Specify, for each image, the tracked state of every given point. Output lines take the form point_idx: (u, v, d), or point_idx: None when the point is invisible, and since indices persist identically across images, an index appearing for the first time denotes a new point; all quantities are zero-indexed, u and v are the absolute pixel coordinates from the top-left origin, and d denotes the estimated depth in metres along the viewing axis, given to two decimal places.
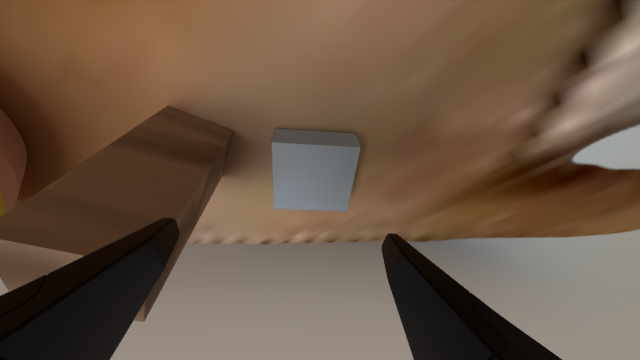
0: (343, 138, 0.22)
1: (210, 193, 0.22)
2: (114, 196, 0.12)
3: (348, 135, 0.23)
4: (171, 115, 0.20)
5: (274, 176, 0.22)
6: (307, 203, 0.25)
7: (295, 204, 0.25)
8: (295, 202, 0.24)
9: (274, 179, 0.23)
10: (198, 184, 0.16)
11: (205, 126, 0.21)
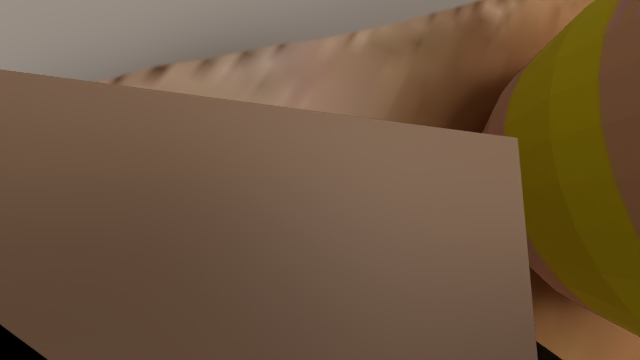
0: None
1: None
2: None
3: None
4: None
5: None
6: None
7: None
8: None
9: None
10: None
11: None
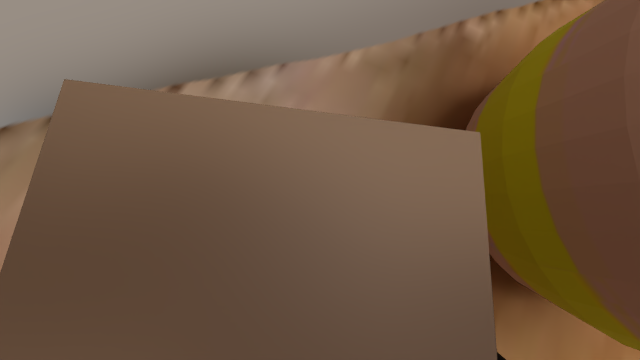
0: None
1: None
2: None
3: None
4: None
5: None
6: None
7: None
8: None
9: None
10: None
11: None
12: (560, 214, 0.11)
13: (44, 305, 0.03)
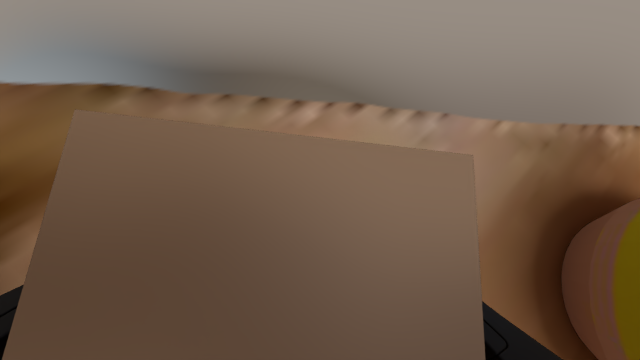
0: None
1: None
2: None
3: None
4: None
5: None
6: None
7: None
8: None
9: None
10: None
11: None
12: None
13: (62, 328, 0.03)
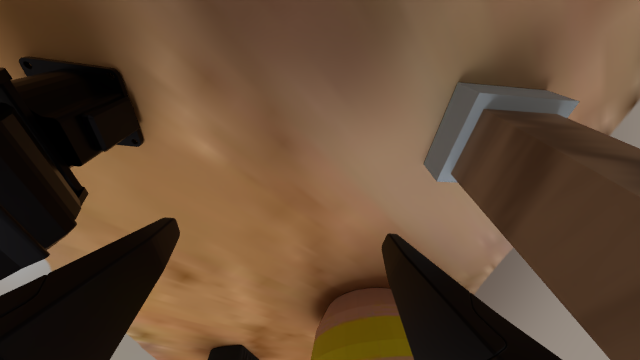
0: (458, 104, 0.19)
1: (599, 137, 0.14)
2: (605, 274, 0.10)
3: (457, 94, 0.19)
4: (463, 174, 0.19)
5: None
6: None
7: None
8: None
9: None
10: (601, 176, 0.10)
11: (477, 142, 0.18)
12: None
13: None
